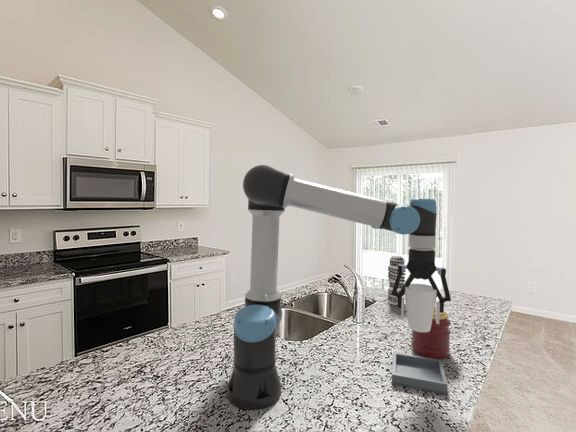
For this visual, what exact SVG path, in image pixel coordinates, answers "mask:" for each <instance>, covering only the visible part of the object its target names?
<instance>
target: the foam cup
mask: <svg viewBox="0 0 576 432" xmlns="http://www.w3.org/2000/svg"><path fill="white" fill-rule="evenodd" d="M404 294H405V295H404V300H405V306H406V309H405V310H406V317H407V325H408V329H410V330H411V331H412V330H413V331H416V332H429V331H430V329H431V325H432V319H433V313H434V308H435V307H436V300H437V298H438V297H437V290H435V289H433V287H432V285H431V284H426V283H419V282H415V283H414V282H411V284H410V285H409V287H405V293H404Z"/></svg>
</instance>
